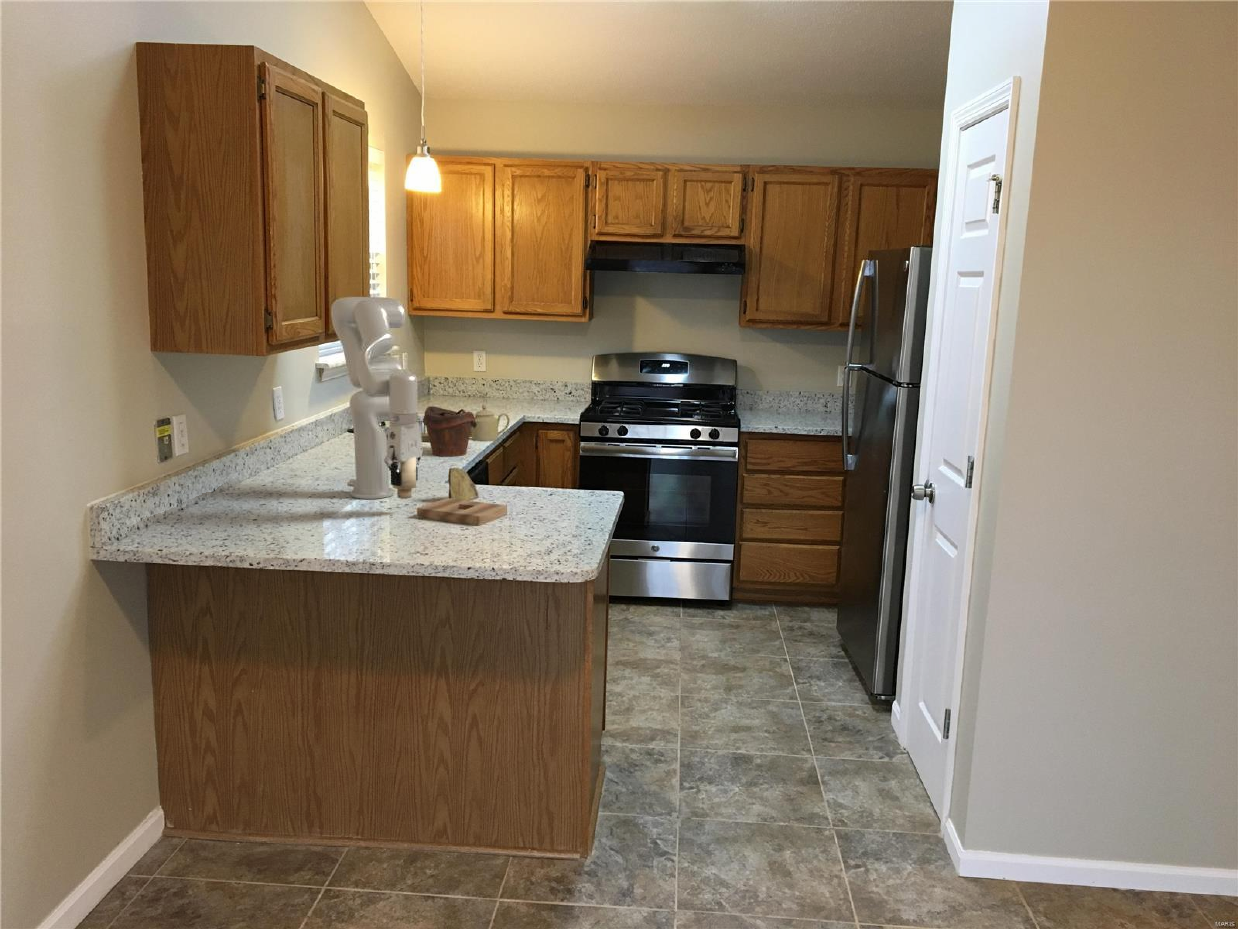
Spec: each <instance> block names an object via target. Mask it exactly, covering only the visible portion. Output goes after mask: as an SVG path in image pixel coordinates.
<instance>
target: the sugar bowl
mask: <svg viewBox="0 0 1238 929" xmlns="http://www.w3.org/2000/svg"><path fill="white" fill-rule="evenodd" d="M487 407H488V406H487V405H486V404H485V403H483V404H482V405H481V410H478V411H476V412H475V413H474V417H475V420H476V423H477V425H476V427H475V428H474V427H472V426H471V440H472V441H474V442H493V441H498V439H499V436H500V435H501V434H503V433H504V432H505V431H506V430H507V429H508V428H509V425H510V422H511V420H510V416H509V414H507V413H506V412H501V413H500V414H499V415H498V417H497V418H496V417H495V413H494V412H493V411H491V410H488V409H487ZM502 416H506V418H507V419H506V420H507V422H506V425H505V426H504V428H503V429H502V430H500V431H499V424H500V419H501V417H502Z"/></svg>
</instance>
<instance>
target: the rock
mask: <svg viewBox="0 0 1238 929" xmlns="http://www.w3.org/2000/svg"><path fill="white" fill-rule="evenodd" d="M447 477H448V479H447V480H448V487H449V488H448V495H447V496H448V497H447V498H449V499H458V500H466V501H472V500H473V499H477V498H480V493H479V491H478V489H477V487H476V484H475V483H474V482H473V481H472V479H471V478H470V476H469V474H468V472H466V471H465V470H463V469H461V468H458V467H450V468H449V469H448V476H447Z"/></svg>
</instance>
